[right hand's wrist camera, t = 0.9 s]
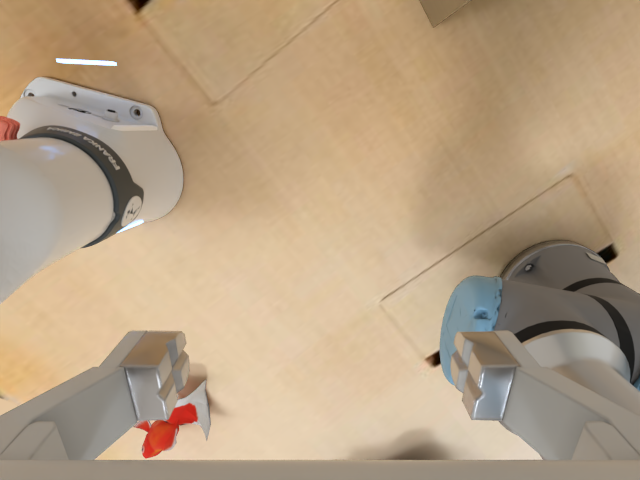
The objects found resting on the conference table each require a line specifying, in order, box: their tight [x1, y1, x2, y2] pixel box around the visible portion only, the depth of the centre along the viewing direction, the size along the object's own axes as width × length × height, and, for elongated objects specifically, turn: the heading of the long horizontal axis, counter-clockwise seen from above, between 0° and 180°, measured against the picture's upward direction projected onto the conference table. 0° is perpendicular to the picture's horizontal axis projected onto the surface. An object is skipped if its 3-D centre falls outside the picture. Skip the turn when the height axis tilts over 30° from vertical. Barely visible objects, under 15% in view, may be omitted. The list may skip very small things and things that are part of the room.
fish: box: [134, 380, 211, 458], centre depth 58 cm, size 11×16×10 cm
